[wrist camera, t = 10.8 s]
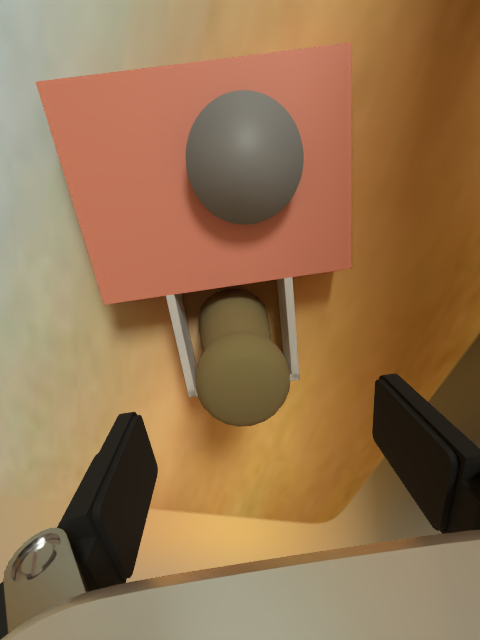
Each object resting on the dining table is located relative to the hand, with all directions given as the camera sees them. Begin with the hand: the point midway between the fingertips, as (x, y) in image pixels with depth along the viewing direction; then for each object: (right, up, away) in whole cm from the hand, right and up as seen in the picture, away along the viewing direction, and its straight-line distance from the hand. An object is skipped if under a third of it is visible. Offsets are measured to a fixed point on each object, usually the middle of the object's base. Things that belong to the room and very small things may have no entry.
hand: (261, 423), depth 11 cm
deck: (-2, +10, +11) cm, 15 cm away
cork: (-1, +4, +13) cm, 14 cm away
